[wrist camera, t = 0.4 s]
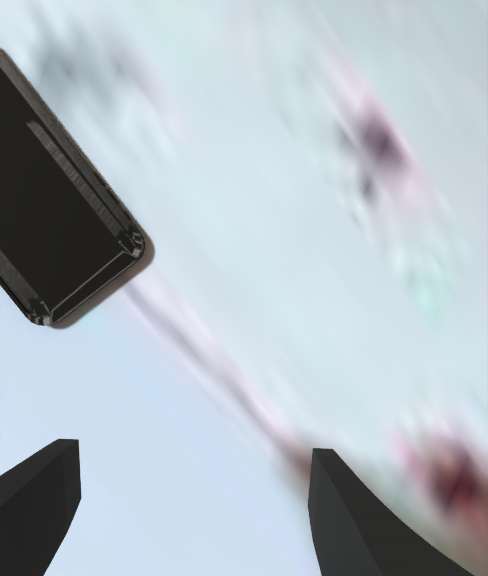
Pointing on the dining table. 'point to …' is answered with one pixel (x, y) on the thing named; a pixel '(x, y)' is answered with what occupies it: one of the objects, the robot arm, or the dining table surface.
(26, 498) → the robot arm
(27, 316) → the phone
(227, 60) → the dining table surface
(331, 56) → the dining table surface
